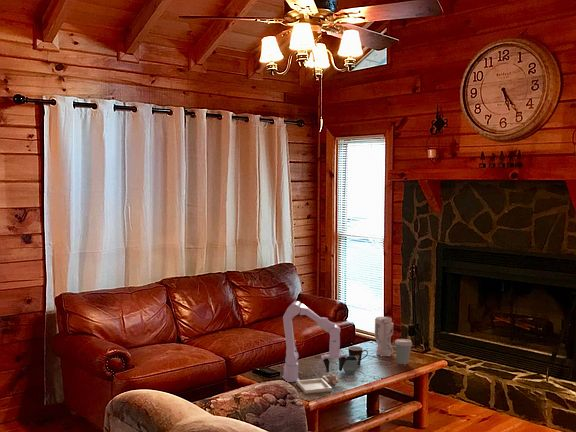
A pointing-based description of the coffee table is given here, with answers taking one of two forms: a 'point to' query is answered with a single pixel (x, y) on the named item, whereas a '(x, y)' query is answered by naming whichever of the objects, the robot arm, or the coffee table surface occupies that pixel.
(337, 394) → the coffee table surface
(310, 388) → the tray
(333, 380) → the collar
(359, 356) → the coffee mug
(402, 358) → the disposable coffee cup
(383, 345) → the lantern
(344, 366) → the flower pot
